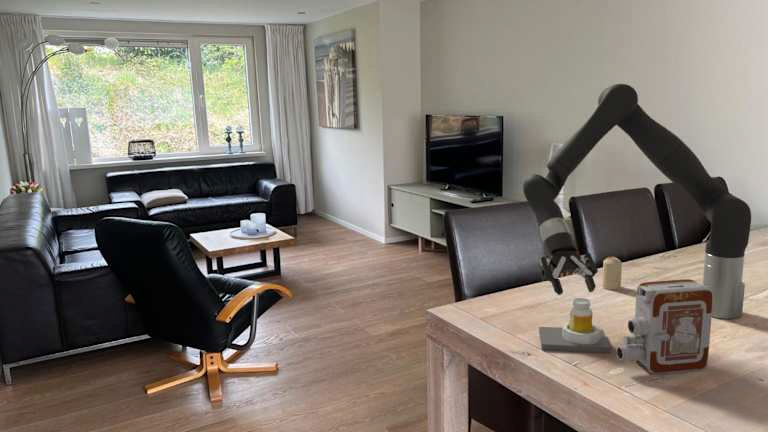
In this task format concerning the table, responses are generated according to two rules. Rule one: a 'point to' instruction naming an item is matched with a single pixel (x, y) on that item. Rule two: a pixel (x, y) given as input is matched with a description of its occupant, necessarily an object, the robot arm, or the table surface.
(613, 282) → the candle
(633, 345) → the cine camera
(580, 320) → the supplement bottle
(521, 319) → the table surface
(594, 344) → the mount plate
